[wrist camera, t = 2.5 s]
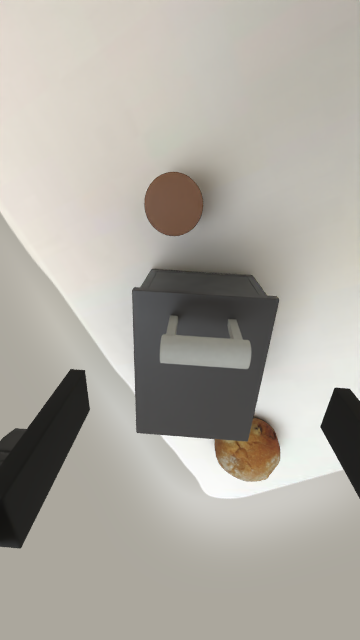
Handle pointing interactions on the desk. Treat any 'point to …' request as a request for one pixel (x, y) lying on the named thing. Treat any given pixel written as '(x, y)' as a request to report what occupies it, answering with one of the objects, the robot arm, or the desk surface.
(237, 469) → the bread roll
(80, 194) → the desk surface
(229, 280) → the dark grey box
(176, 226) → the brown cylinder
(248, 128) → the desk surface
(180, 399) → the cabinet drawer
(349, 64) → the desk surface
